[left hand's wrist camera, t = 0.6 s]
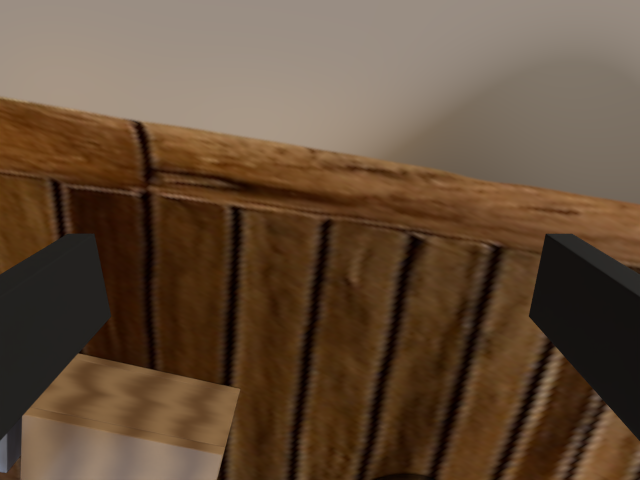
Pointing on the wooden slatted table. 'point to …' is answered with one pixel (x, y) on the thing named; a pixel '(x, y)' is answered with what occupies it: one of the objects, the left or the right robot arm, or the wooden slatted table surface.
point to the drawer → (11, 447)
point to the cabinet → (126, 425)
